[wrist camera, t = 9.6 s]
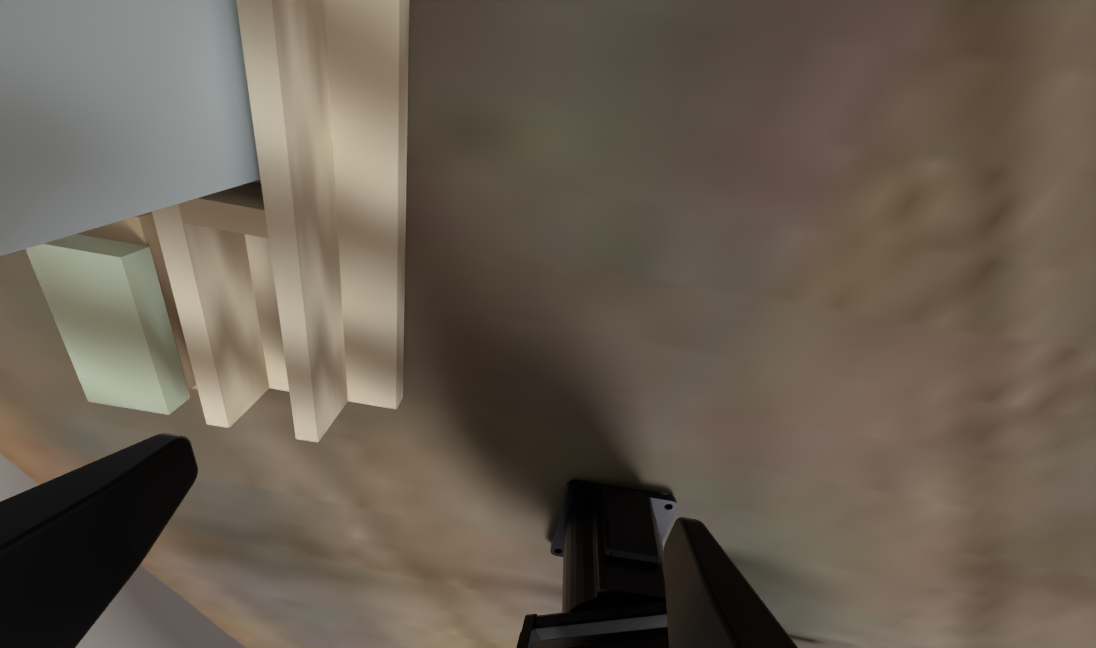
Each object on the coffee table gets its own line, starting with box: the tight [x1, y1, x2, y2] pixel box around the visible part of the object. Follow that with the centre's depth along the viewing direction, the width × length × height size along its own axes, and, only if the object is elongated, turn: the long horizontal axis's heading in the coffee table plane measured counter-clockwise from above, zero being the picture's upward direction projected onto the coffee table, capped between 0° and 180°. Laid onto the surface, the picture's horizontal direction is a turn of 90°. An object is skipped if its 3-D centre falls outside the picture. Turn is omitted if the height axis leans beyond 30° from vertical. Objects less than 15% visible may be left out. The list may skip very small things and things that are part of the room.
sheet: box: [0, 0, 260, 255], centre depth 11 cm, size 8×2×10 cm, turn 170°
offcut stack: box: [26, 212, 198, 415], centre depth 19 cm, size 9×4×4 cm, turn 170°
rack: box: [152, 0, 409, 442], centre depth 17 cm, size 20×14×4 cm
